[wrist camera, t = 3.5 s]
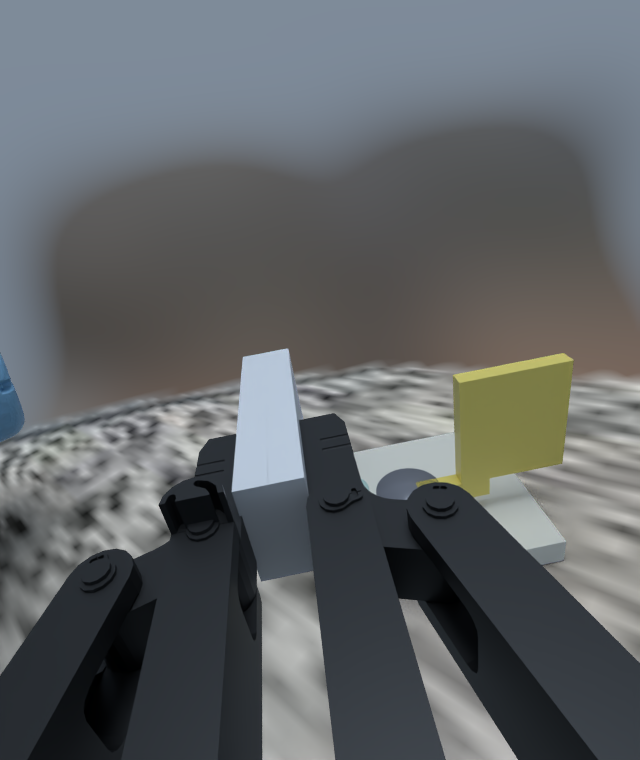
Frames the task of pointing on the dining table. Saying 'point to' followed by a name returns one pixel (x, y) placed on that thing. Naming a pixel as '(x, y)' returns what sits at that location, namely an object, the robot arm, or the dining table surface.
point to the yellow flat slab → (500, 425)
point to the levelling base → (503, 502)
